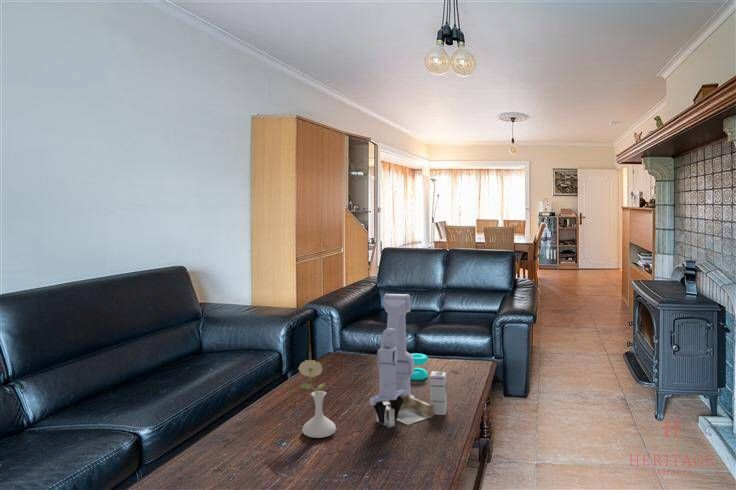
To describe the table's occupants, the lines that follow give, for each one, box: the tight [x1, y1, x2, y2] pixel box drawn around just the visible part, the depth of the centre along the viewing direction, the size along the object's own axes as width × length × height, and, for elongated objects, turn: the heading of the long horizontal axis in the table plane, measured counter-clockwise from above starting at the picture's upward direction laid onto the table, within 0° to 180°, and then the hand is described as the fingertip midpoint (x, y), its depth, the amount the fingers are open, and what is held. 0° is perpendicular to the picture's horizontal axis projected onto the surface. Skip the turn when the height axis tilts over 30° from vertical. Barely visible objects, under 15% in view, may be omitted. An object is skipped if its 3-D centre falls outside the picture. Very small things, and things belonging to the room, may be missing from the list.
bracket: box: [375, 402, 396, 429], centre depth 172 cm, size 7×5×6 cm
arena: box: [383, 395, 434, 427], centre depth 178 cm, size 15×13×4 cm
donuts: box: [410, 352, 429, 381], centre depth 221 cm, size 10×10×10 cm
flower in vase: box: [297, 359, 337, 439], centre depth 163 cm, size 13×11×25 cm
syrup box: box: [429, 370, 448, 416], centre depth 181 cm, size 6×6×14 cm
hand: (388, 420), depth 170 cm, fingers open, 5 cm apart
